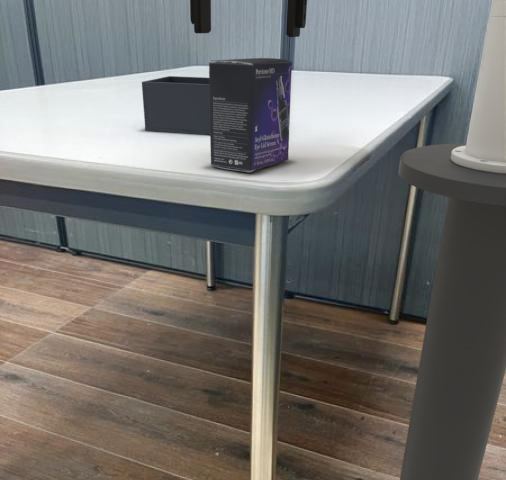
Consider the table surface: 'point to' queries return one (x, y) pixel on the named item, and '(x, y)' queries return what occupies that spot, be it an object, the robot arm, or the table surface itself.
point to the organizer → (177, 105)
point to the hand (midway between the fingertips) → (247, 34)
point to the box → (249, 112)
